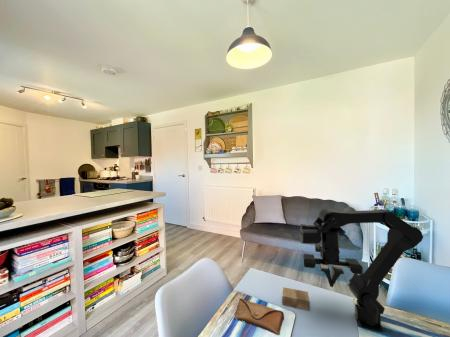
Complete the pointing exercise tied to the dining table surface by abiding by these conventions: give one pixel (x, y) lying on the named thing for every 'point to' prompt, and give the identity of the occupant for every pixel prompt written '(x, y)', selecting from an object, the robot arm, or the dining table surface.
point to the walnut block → (295, 298)
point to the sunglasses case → (260, 316)
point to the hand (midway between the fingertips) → (331, 286)
